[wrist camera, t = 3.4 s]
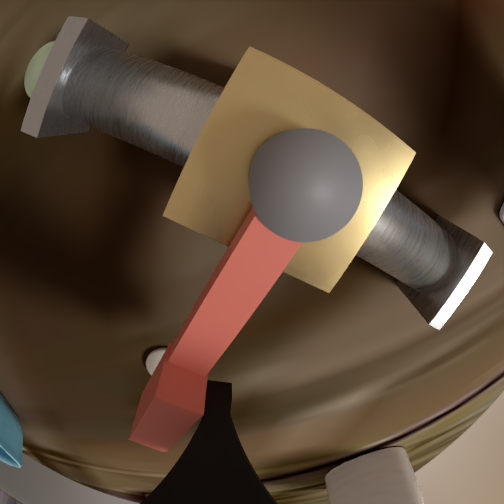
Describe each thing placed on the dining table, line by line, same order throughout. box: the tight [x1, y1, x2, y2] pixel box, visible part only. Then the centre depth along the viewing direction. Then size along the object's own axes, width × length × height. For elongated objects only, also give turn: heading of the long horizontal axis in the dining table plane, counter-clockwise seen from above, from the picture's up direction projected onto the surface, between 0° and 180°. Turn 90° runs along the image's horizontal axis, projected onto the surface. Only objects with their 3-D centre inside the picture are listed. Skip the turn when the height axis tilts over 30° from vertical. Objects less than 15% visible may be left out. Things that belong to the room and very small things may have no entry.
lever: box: [129, 128, 363, 453], centre depth 8 cm, size 12×3×3 cm, turn 149°
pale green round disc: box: [24, 41, 55, 98], centre depth 9 cm, size 3×3×1 cm
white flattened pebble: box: [146, 348, 167, 376], centre depth 16 cm, size 3×3×1 cm
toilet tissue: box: [325, 447, 424, 504], centre depth 21 cm, size 11×12×10 cm
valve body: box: [21, 16, 493, 330], centre depth 10 cm, size 20×6×4 cm, turn 62°
